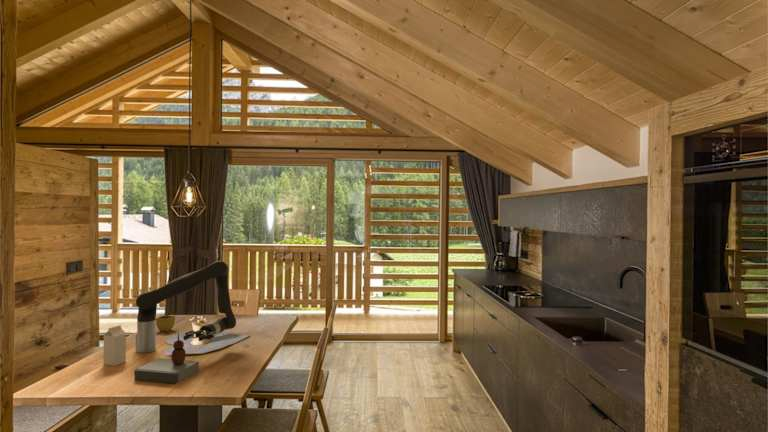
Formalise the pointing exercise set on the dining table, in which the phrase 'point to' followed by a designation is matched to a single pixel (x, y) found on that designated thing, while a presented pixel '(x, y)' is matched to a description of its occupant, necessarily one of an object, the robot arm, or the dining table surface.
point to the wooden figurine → (178, 352)
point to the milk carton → (115, 346)
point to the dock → (166, 371)
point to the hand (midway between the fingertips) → (191, 338)
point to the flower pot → (165, 323)
